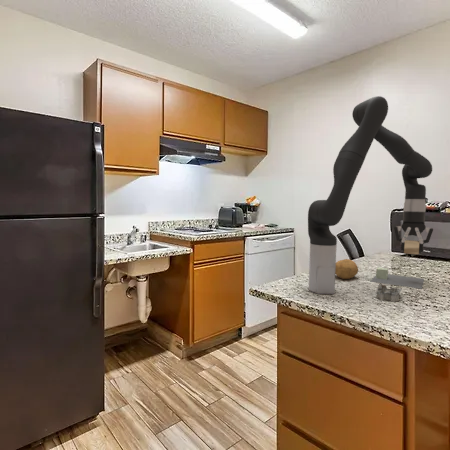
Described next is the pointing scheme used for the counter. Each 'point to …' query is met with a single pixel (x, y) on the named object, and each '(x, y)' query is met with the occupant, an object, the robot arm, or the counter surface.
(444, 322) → the counter surface
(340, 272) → the potato
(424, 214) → the robot arm
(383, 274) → the sage block
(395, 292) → the miniature stone castle
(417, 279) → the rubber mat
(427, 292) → the counter surface
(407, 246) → the maple block
